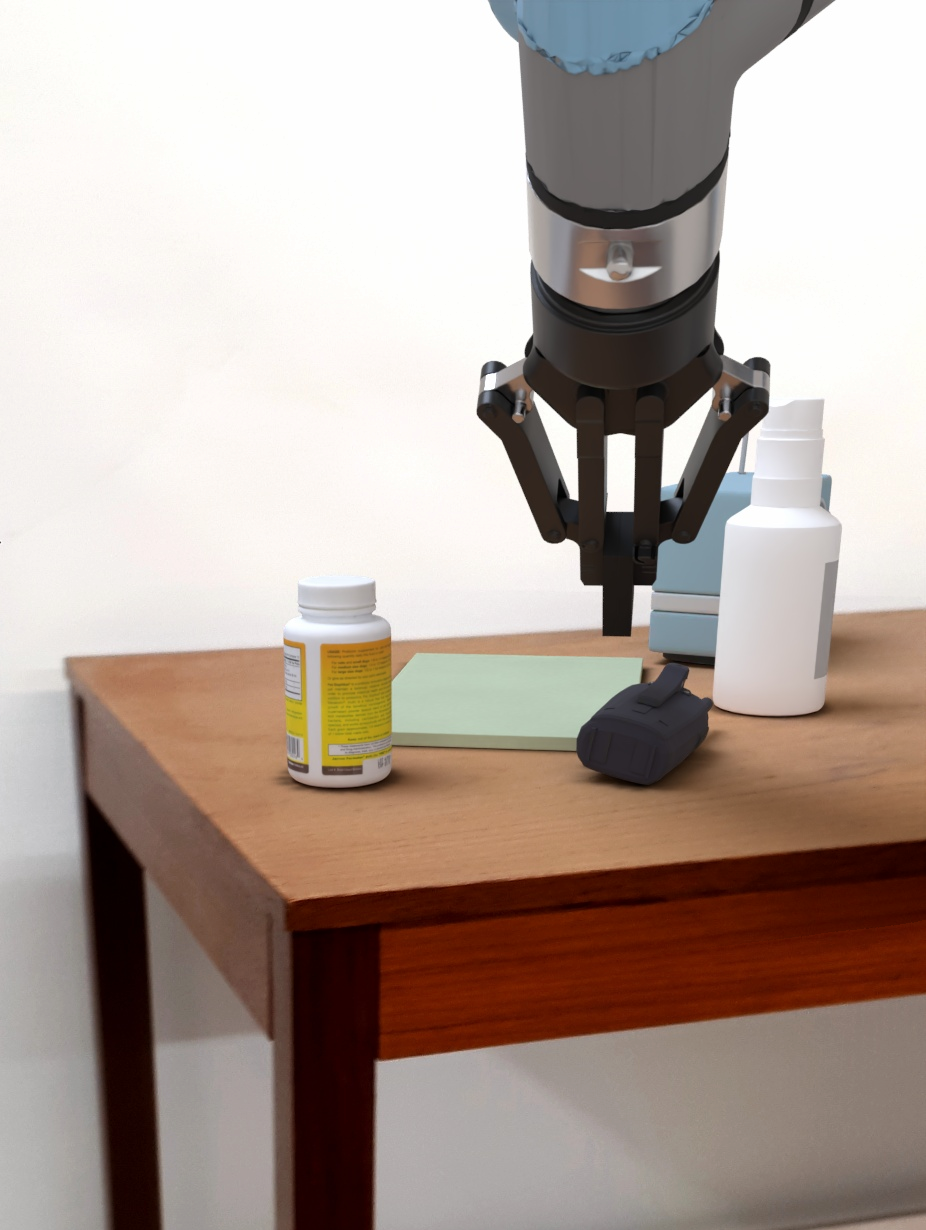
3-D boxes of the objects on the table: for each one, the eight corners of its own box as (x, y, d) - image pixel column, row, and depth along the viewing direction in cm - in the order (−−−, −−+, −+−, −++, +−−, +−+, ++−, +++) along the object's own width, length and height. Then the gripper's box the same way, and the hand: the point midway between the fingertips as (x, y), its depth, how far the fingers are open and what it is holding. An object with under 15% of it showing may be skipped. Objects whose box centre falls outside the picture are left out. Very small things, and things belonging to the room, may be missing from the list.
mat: (642, 669, 117) (643, 657, 116) (630, 753, 93) (631, 738, 93) (416, 664, 119) (416, 652, 119) (348, 744, 96) (348, 730, 96)
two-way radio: (664, 796, 85) (728, 733, 98) (686, 713, 83) (749, 659, 96) (562, 767, 87) (639, 708, 100) (582, 684, 85) (657, 635, 97)
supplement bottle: (411, 773, 89) (412, 576, 85) (355, 796, 85) (354, 590, 81) (324, 761, 92) (321, 570, 88) (266, 782, 88) (260, 582, 84)
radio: (770, 674, 114) (798, 359, 106) (645, 663, 118) (663, 359, 111) (831, 640, 127) (860, 356, 119) (716, 631, 131) (737, 356, 123)
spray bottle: (847, 708, 104) (880, 398, 97) (772, 722, 100) (801, 401, 93) (762, 691, 109) (788, 395, 102) (688, 704, 105) (710, 398, 98)
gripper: (452, 325, 66) (488, 672, 88) (791, 320, 64) (742, 677, 85) (470, 186, 69) (500, 555, 90) (795, 176, 67) (747, 558, 88)
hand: (618, 614), depth 88 cm, fingers closed
